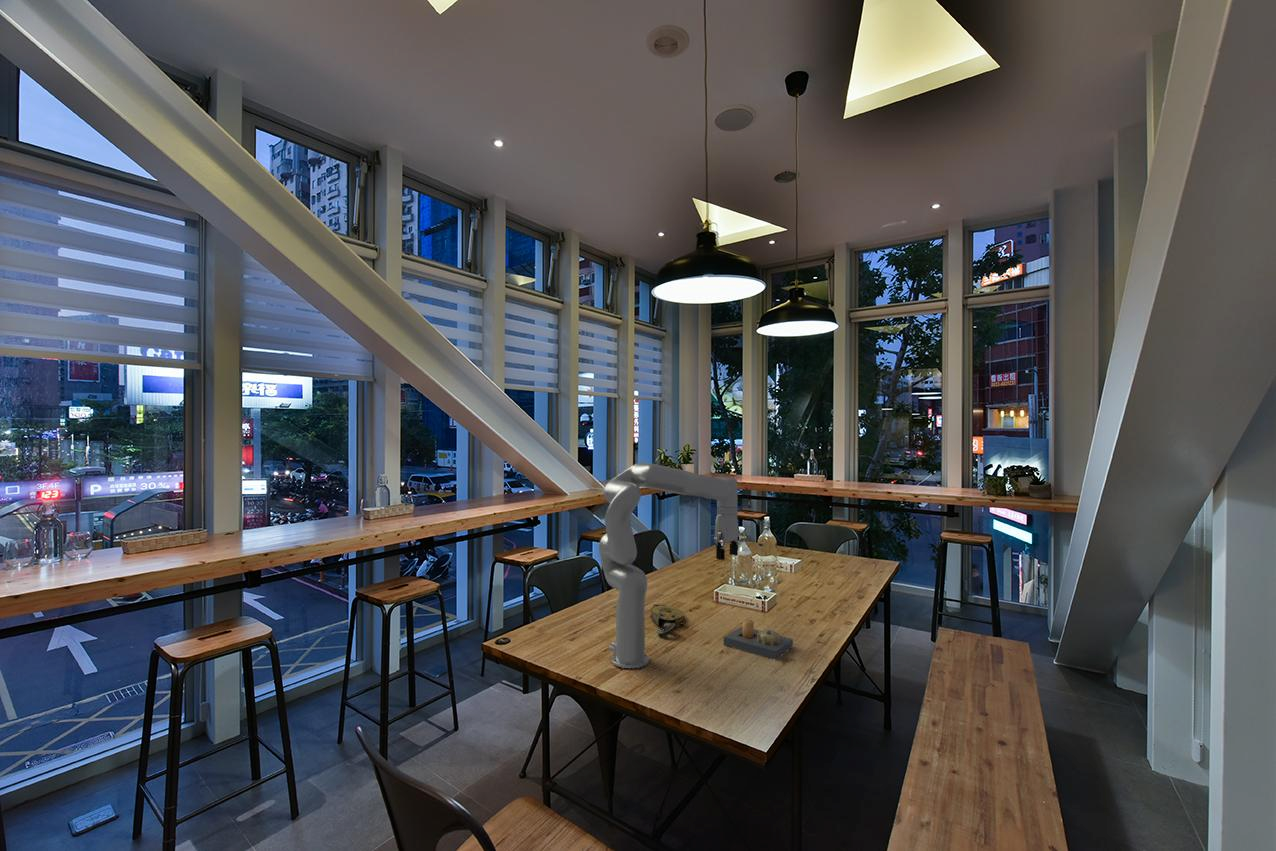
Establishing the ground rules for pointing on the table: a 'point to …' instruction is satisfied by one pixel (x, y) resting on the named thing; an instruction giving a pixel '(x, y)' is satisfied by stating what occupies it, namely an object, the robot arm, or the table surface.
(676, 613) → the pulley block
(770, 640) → the housing
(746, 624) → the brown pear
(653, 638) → the table surface
